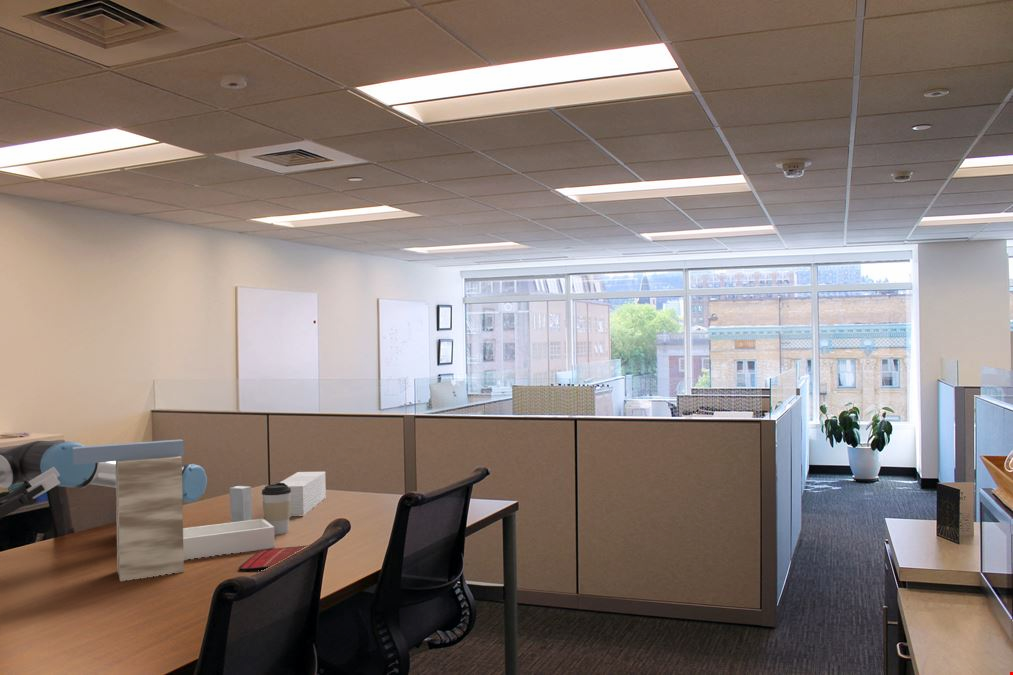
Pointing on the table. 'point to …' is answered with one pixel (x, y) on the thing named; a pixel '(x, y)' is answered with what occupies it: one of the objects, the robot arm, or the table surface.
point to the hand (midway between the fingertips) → (57, 474)
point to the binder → (268, 558)
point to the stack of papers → (305, 491)
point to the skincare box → (240, 503)
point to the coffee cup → (277, 506)
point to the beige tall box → (149, 517)
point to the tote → (227, 538)
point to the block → (127, 451)
